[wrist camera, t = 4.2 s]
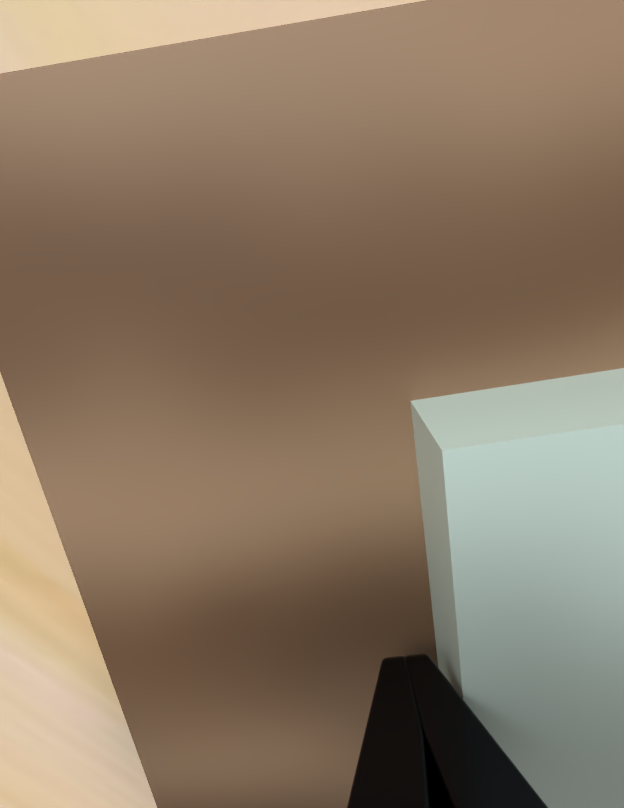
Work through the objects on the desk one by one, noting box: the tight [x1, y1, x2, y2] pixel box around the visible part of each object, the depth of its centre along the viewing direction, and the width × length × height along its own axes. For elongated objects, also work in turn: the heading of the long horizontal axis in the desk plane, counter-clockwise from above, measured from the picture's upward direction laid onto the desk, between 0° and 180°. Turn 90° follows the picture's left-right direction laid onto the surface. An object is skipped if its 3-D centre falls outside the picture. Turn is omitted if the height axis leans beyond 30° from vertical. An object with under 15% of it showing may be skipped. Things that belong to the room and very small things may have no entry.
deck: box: [0, 0, 624, 808], centre depth 11 cm, size 20×12×4 cm, turn 8°
